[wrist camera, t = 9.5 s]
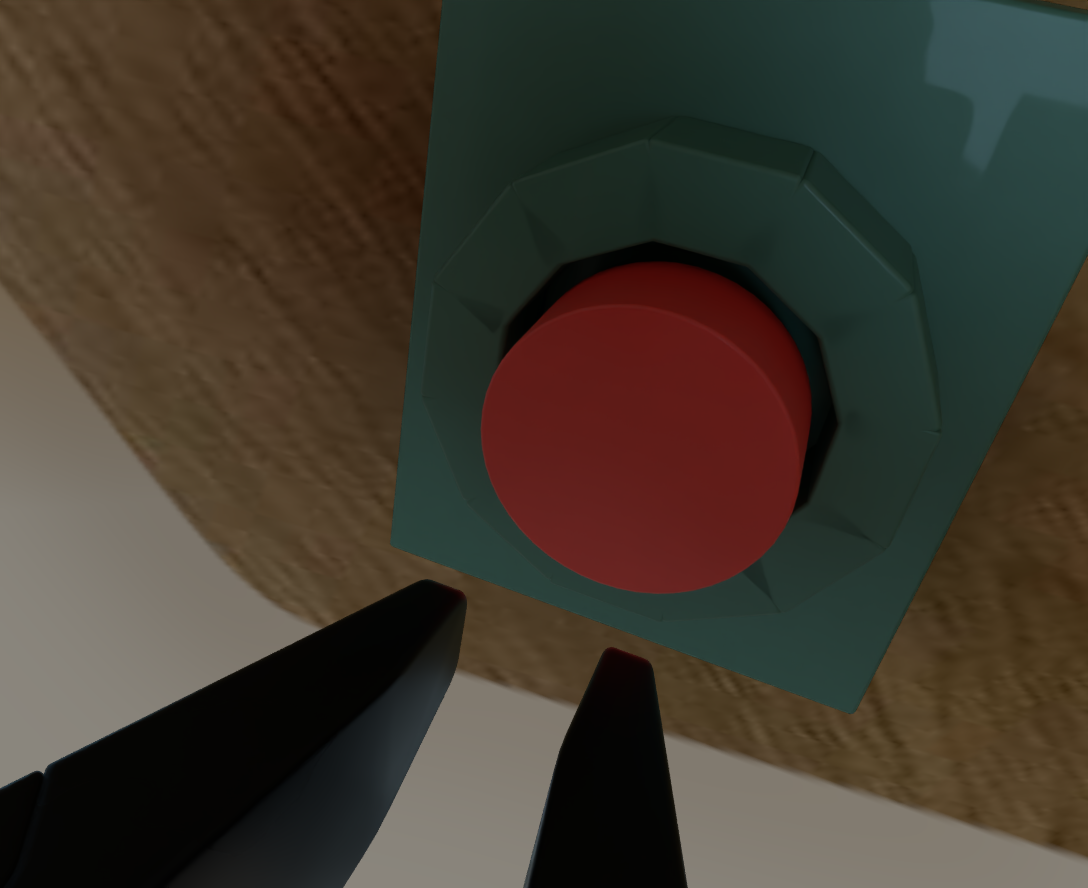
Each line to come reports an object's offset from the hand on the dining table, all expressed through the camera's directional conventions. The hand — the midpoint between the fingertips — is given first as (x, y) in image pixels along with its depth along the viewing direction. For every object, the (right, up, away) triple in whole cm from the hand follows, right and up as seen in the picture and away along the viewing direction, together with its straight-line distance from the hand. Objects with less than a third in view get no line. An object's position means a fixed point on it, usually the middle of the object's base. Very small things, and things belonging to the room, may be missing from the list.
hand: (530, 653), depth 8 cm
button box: (+3, +4, +7) cm, 9 cm away
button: (+2, +2, +4) cm, 5 cm away
